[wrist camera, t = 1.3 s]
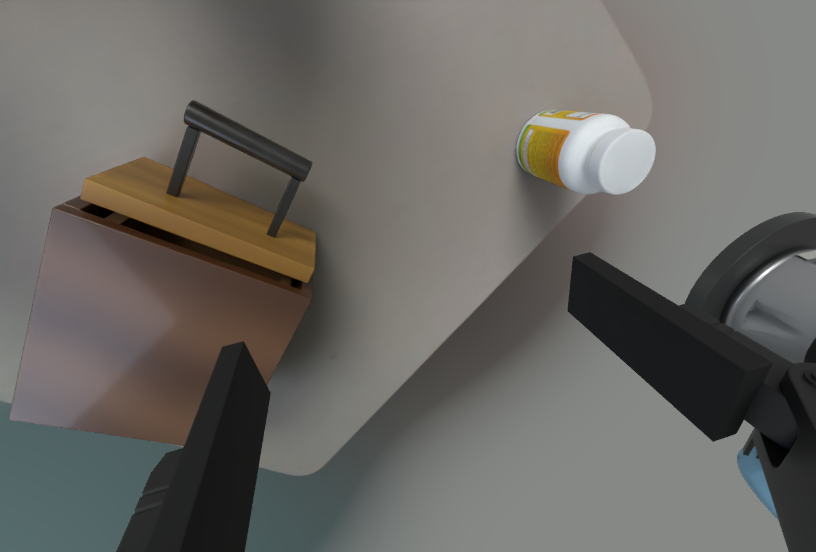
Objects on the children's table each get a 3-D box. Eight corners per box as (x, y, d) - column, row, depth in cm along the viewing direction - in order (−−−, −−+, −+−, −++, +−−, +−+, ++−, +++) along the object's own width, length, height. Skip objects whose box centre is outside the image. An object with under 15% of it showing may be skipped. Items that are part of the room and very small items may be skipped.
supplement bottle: (533, 187, 32) (608, 222, 23) (503, 142, 29) (575, 162, 21) (580, 145, 31) (677, 165, 22) (554, 94, 28) (651, 95, 20)
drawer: (167, 73, 22) (110, 66, 16) (347, 169, 27) (354, 192, 21) (96, 320, 28) (37, 381, 22) (253, 360, 33) (238, 418, 27)
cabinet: (133, 171, 24) (51, 207, 17) (314, 247, 30) (312, 299, 23) (87, 337, 29) (7, 420, 22) (250, 376, 35) (231, 453, 27)
